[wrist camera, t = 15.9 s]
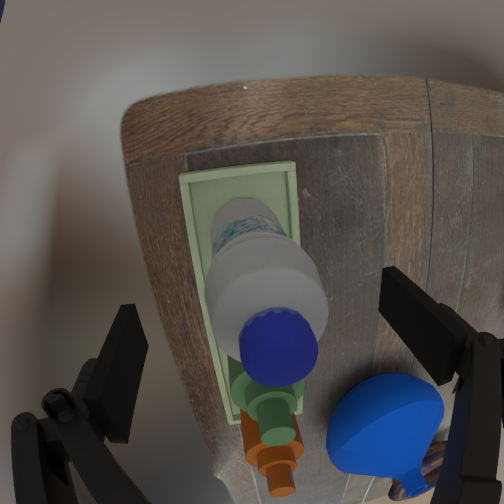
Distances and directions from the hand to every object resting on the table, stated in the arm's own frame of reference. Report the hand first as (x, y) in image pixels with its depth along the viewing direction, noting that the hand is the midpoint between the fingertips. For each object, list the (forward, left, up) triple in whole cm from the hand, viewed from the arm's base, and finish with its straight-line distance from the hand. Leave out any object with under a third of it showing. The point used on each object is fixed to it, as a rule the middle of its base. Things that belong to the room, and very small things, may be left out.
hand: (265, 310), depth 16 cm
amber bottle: (+22, -4, -16) cm, 27 cm away
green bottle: (+11, -2, -16) cm, 19 cm away
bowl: (+66, +24, -17) cm, 72 cm away
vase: (+33, +11, -17) cm, 39 cm away
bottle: (0, 0, -16) cm, 16 cm away
